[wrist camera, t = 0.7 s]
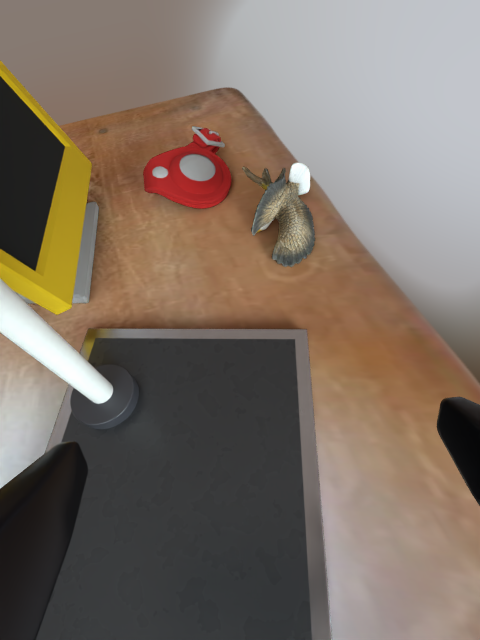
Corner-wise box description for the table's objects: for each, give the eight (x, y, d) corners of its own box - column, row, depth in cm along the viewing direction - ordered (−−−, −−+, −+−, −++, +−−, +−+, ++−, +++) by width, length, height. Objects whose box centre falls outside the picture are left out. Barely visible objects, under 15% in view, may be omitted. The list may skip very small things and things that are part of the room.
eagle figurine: (224, 202, 34) (232, 250, 28) (258, 135, 30) (277, 174, 24) (283, 229, 37) (303, 277, 31) (322, 172, 33) (353, 214, 27)
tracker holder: (243, 196, 34) (145, 194, 32) (234, 223, 38) (147, 223, 36) (224, 115, 39) (137, 108, 36) (218, 147, 43) (139, 142, 40)
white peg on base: (131, 430, 22) (-4, 329, 11) (69, 428, 22) (-123, 328, 11) (144, 370, 24) (45, 237, 13) (88, 369, 25) (-55, 239, 14)
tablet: (346, 843, 13) (351, 863, 12) (-64, 792, 15) (-82, 807, 14) (306, 333, 26) (307, 328, 25) (92, 333, 28) (87, 327, 27)
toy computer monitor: (92, 332, 28) (-67, 150, 14) (-2, 348, 27) (-251, 178, 14) (105, 191, 38) (22, 14, 25) (38, 201, 38) (-81, 29, 25)
